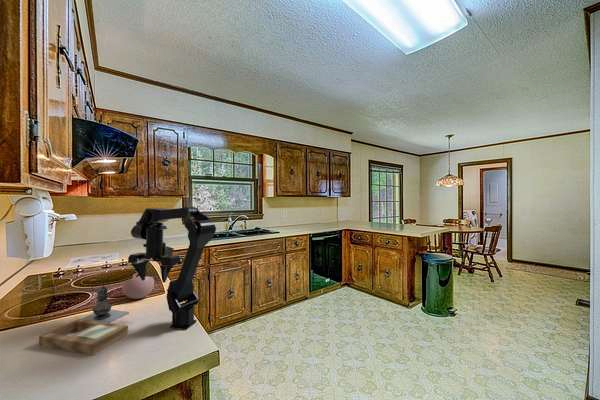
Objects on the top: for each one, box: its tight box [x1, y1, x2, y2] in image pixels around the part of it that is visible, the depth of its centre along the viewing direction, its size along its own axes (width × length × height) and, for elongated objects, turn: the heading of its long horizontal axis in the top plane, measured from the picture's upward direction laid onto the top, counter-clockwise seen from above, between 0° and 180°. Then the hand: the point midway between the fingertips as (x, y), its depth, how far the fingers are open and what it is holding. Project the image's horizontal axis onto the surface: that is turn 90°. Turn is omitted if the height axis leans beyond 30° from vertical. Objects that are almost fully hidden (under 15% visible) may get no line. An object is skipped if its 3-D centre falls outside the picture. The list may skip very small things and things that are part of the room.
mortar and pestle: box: [122, 272, 155, 300], centre depth 117 cm, size 12×12×12 cm
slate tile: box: [80, 309, 130, 324], centre depth 97 cm, size 12×12×1 cm
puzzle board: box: [38, 318, 129, 356], centre depth 82 cm, size 20×12×3 cm, turn 78°
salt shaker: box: [91, 284, 113, 320], centre depth 97 cm, size 6×6×12 cm
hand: (153, 281), depth 101 cm, fingers open, 9 cm apart
